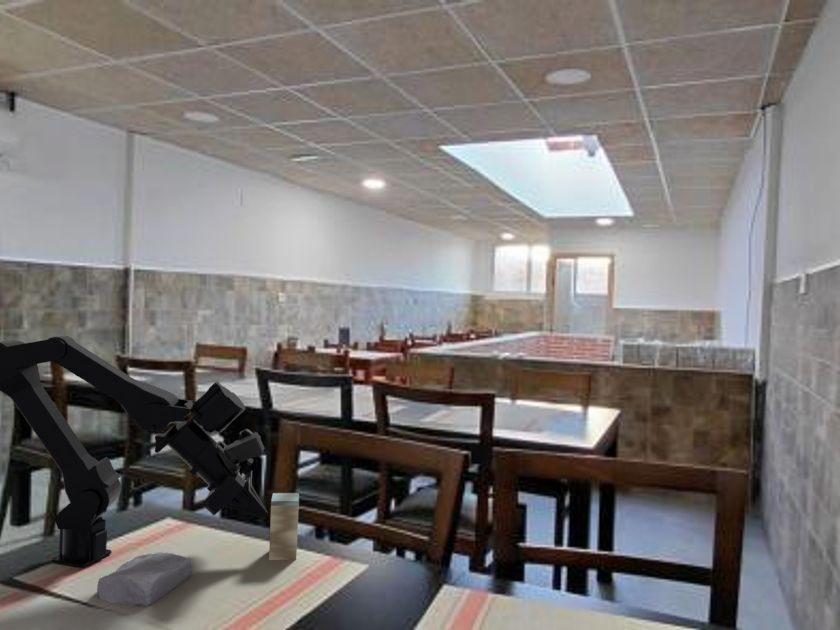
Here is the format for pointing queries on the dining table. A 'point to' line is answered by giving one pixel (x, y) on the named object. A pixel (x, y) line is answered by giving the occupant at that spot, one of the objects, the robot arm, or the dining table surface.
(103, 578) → the stone block
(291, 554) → the beech block
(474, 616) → the dining table surface
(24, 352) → the robot arm
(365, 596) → the dining table surface
